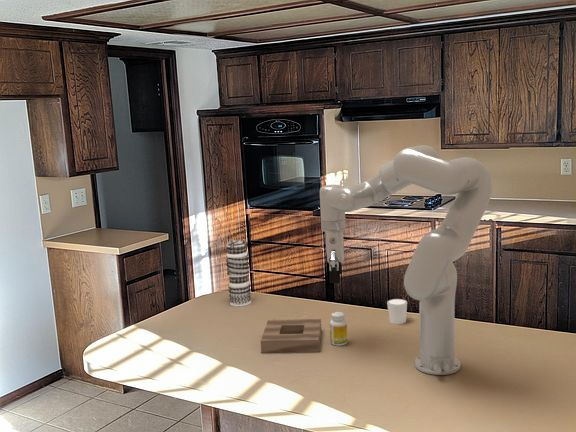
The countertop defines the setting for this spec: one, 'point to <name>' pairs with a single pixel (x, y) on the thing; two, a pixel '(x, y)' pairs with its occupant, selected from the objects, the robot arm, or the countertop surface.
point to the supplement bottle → (338, 329)
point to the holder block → (291, 336)
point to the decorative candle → (238, 273)
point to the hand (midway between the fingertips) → (335, 278)
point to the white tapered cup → (397, 311)
